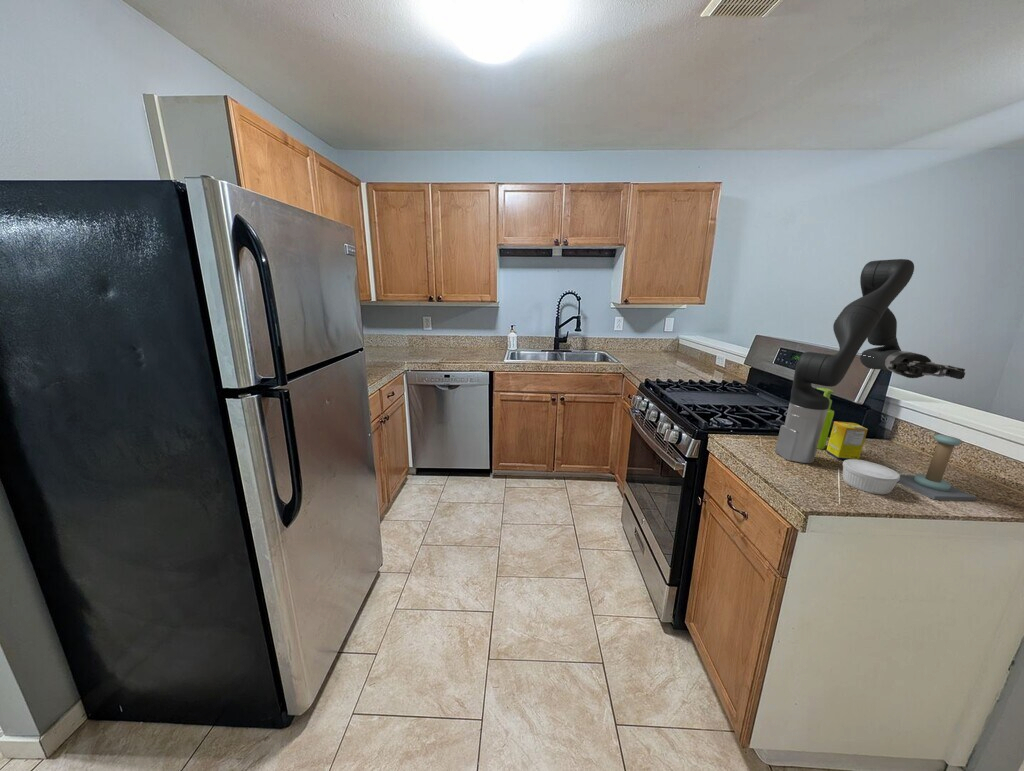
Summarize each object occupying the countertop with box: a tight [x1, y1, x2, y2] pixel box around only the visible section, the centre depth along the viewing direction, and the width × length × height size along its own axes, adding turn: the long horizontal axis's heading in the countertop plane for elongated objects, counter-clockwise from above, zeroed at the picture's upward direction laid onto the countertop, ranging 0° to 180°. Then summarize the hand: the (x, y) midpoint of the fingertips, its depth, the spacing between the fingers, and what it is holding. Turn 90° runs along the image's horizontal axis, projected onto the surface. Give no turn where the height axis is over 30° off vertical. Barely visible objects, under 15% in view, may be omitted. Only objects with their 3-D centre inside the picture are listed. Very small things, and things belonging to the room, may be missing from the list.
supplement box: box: [825, 420, 868, 461], centre depth 114 cm, size 6×6×11 cm
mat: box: [897, 474, 977, 501], centre depth 97 cm, size 11×11×1 cm
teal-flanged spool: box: [914, 434, 962, 491], centre depth 95 cm, size 6×6×14 cm
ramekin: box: [842, 459, 901, 495], centre depth 97 cm, size 11×11×5 cm
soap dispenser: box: [816, 387, 835, 450], centre depth 122 cm, size 6×7×20 cm
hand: (940, 373), depth 100 cm, fingers open, 8 cm apart
